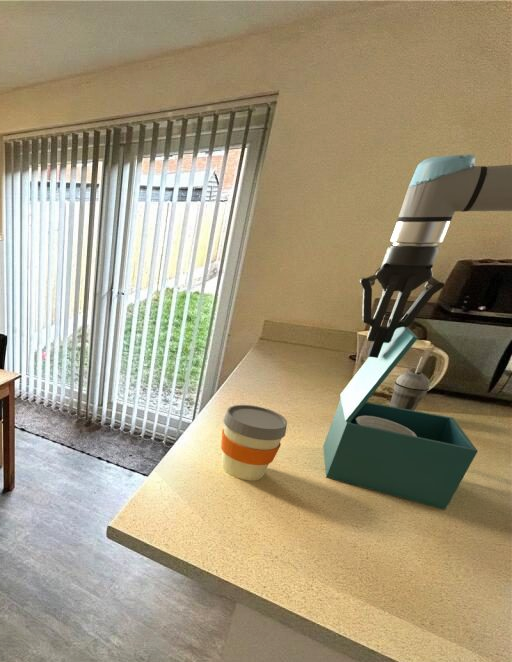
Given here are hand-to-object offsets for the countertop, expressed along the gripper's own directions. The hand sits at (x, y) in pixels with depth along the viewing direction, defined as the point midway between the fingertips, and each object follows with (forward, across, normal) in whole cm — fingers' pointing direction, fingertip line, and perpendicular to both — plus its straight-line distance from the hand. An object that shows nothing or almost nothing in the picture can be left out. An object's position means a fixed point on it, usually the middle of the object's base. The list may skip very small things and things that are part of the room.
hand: (372, 355), depth 88 cm
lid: (+3, -2, 0) cm, 4 cm away
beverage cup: (+29, -17, -38) cm, 51 cm away
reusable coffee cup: (+29, +18, +16) cm, 38 cm away
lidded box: (+29, -8, 0) cm, 30 cm away
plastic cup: (+28, -7, 0) cm, 29 cm away
